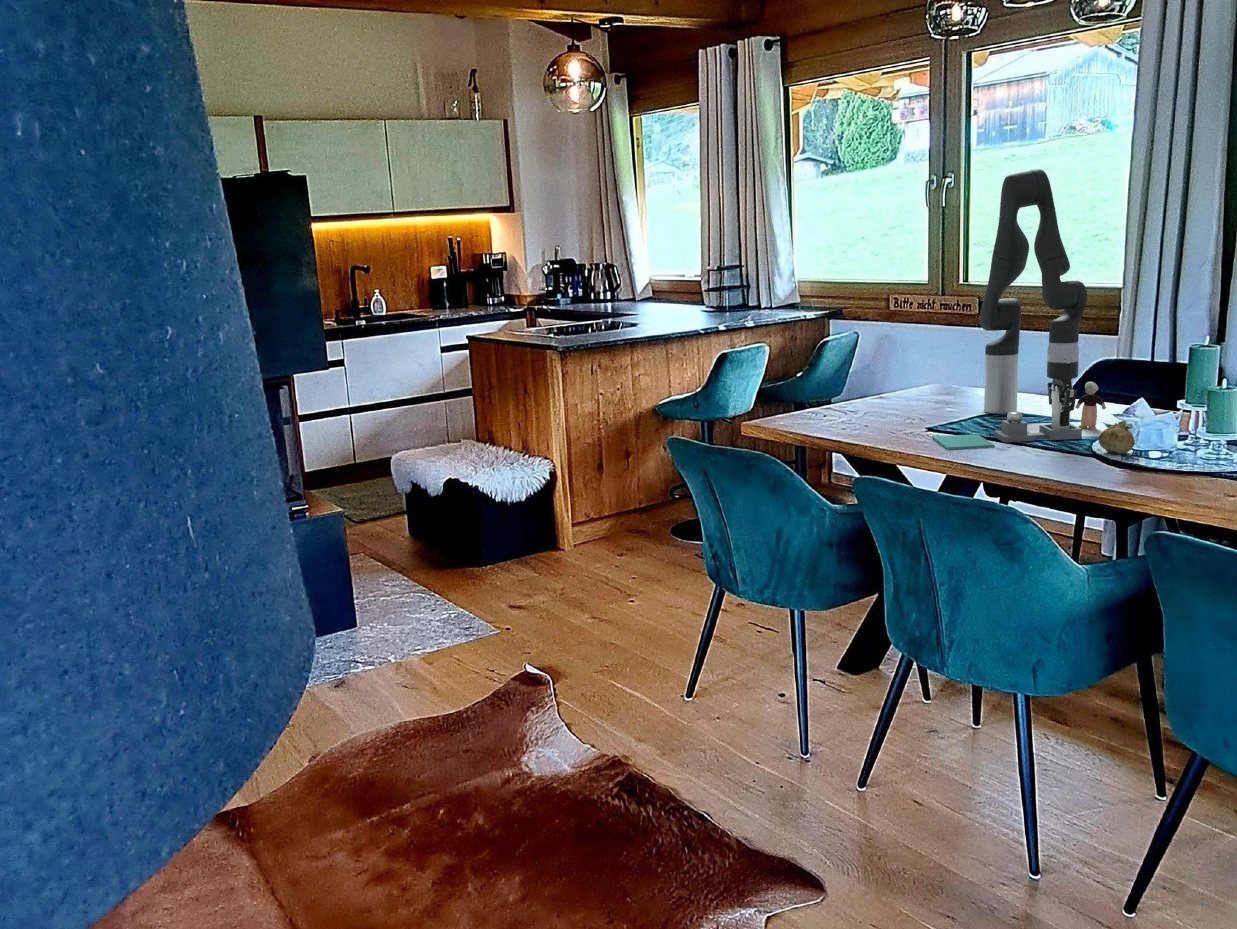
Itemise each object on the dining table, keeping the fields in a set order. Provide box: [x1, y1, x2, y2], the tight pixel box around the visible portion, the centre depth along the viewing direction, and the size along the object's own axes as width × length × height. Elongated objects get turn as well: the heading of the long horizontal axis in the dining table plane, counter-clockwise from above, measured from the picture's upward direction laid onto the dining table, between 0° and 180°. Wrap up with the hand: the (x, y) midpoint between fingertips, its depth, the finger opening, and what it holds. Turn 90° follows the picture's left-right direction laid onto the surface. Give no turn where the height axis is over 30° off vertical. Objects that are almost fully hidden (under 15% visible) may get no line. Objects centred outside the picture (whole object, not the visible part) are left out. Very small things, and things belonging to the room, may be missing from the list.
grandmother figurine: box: [1074, 381, 1107, 430], centre depth 287 cm, size 8×4×13 cm, turn 62°
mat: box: [932, 433, 996, 451], centre depth 280 cm, size 14×12×1 cm
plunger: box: [1006, 411, 1023, 423], centre depth 281 cm, size 4×4×4 cm
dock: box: [993, 419, 1083, 443], centre depth 281 cm, size 8×20×4 cm, turn 89°
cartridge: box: [1051, 391, 1071, 430], centre depth 280 cm, size 4×4×13 cm
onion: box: [1098, 420, 1136, 455], centre depth 259 cm, size 8×8×8 cm
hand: (1060, 423), depth 281 cm, fingers closed on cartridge, 4 cm apart
